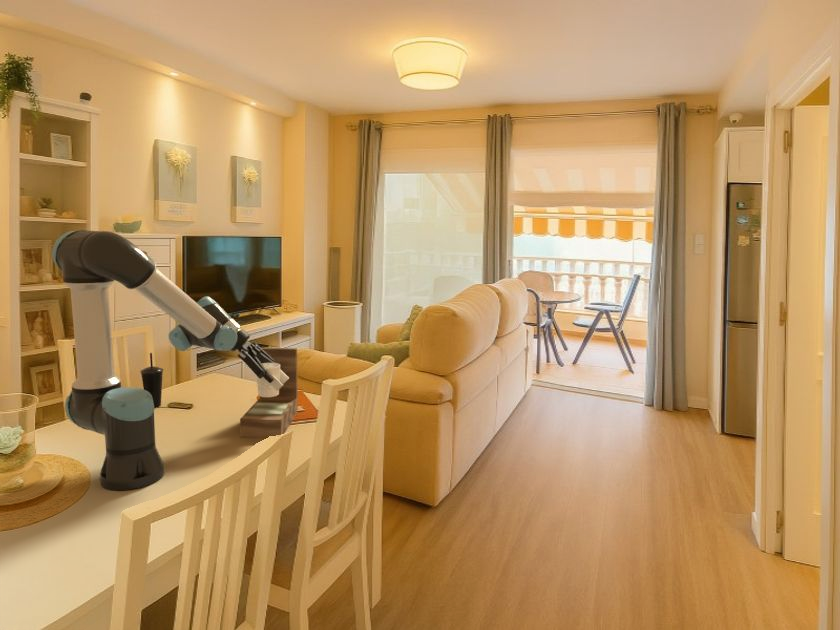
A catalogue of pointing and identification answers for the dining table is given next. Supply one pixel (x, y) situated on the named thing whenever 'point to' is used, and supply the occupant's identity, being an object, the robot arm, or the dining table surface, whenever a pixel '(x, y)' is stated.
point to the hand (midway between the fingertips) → (283, 384)
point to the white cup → (263, 385)
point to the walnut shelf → (274, 401)
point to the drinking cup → (153, 382)
